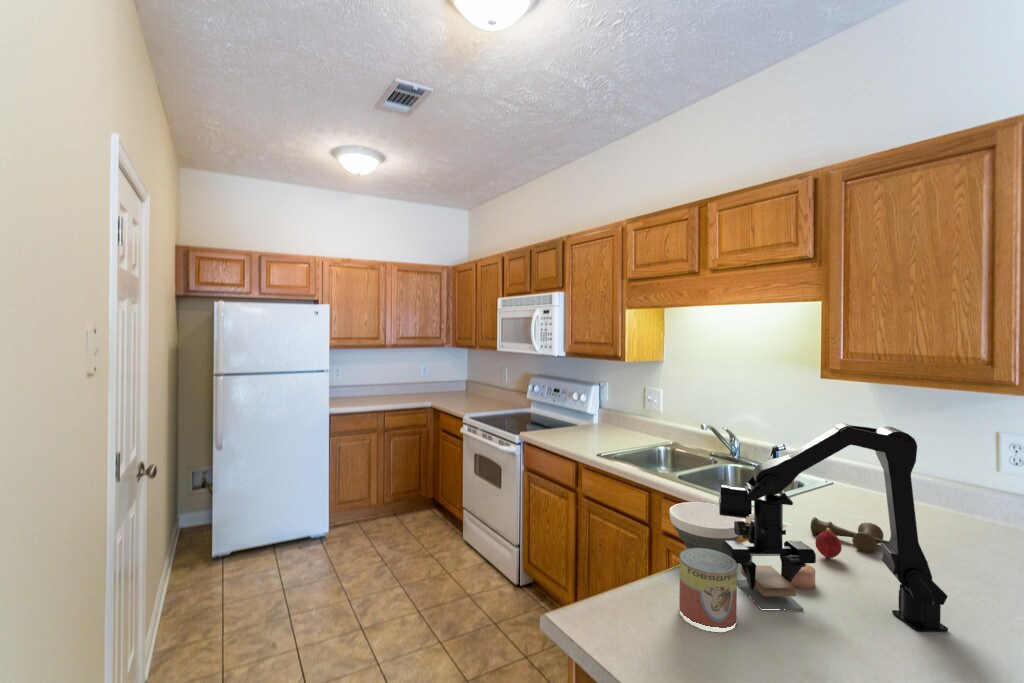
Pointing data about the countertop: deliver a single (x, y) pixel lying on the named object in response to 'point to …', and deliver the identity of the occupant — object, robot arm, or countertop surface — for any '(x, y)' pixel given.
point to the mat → (769, 599)
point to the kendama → (853, 534)
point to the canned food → (708, 587)
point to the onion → (828, 544)
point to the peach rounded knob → (804, 578)
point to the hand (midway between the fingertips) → (767, 589)
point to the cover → (771, 582)
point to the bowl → (703, 525)
